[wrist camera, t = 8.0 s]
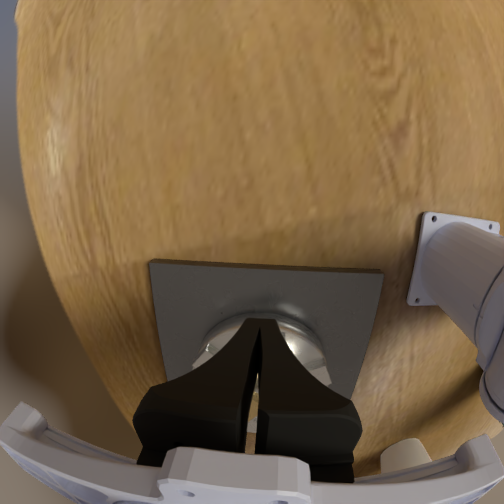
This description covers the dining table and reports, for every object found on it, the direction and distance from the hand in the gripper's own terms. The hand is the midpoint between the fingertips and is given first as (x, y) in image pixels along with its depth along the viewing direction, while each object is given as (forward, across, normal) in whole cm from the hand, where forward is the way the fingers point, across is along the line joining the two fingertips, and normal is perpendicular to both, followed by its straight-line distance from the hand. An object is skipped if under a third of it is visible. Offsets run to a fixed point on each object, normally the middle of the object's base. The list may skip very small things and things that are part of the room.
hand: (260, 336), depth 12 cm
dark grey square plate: (+9, 0, +9) cm, 13 cm away
